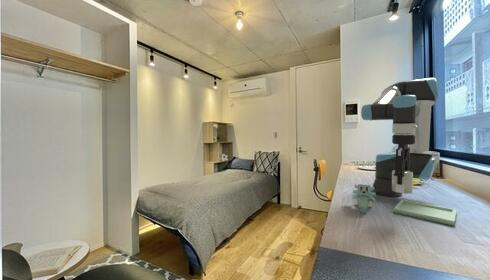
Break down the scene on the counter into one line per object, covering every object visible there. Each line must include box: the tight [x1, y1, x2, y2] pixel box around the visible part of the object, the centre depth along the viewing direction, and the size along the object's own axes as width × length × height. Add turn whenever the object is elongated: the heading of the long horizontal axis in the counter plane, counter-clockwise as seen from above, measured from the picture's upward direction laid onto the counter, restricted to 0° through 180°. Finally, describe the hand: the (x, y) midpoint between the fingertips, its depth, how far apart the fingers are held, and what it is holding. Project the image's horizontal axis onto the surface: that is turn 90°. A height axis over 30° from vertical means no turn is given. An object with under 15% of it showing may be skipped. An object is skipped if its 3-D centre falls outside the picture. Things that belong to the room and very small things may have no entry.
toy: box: [352, 183, 377, 214], centre depth 105 cm, size 10×14×15 cm
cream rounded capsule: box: [392, 170, 414, 195], centre depth 92 cm, size 7×7×8 cm
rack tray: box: [393, 198, 457, 227], centre depth 100 cm, size 20×17×2 cm
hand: (401, 189), depth 92 cm, fingers closed on cream rounded capsule, 7 cm apart
